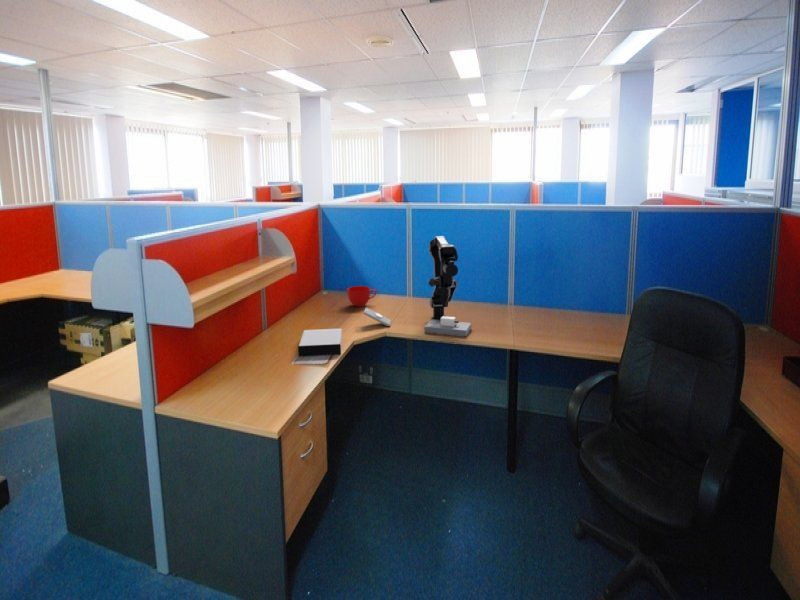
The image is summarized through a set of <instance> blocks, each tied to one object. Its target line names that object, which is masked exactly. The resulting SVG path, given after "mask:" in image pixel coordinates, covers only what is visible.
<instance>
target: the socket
mask: <svg viewBox="0 0 800 600" xmlns="http://www.w3.org/2000/svg"><path fill="white" fill-rule="evenodd" d="M455 325H456V327H455V326H443V325H441V320H439V319H431V320H430V321H428V322H427V324H425V326H424V333H425V332H427V333H426V334H434V333H436V334H437V335H444V334H446V335H445V336H448V335H449V336H454V335H457V337H464V336H466V337H467V336H468V335H469V333H470V332H469V331H471V330H472V322H465V321H464V322H463V321H459V323H456V324H455Z"/></svg>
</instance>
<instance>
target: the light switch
mask: <svg viewBox="0 0 800 600" xmlns="http://www.w3.org/2000/svg"><path fill="white" fill-rule="evenodd" d="M363 315H365V316H367V317H368V318H371V319H373V320H375V321H377V322H378V323H380V324H382V325H384V326H386V327H388V326H390V327H391V322H392V320H391V319H389V318H388V317H385V316H384V315H382V314H380V313H379V312H375V311H373V309H371V308H368V307H365V309H364V311H363Z"/></svg>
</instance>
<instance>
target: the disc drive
mask: <svg viewBox="0 0 800 600" xmlns="http://www.w3.org/2000/svg"><path fill="white" fill-rule="evenodd" d="M342 340H343V329H342V328H327V329H326V328H325V329H321V328H320V329H304V330H303V333H302V336H301V339H300V342H299V344H298V346H297V350H298V351H297V352H298V357H310V356H311V357H316V356H336V355H337V356H338V355H342V351H341V349H342V342H343V341H342Z"/></svg>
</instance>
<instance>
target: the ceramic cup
mask: <svg viewBox="0 0 800 600" xmlns="http://www.w3.org/2000/svg"><path fill="white" fill-rule="evenodd" d="M346 291H347V297H348V300H349V302H350V304H351V305H353V306H354V307H355V306H358V308H359V307H360V306H362V307H365V306H366V304H367V303H368V302H369V300H371V299H372V298H375V297H376V296H377V294H378V293H377V290H376V289H374V288H373V289H372V288H370V287H369V286H364V285H355V286H350V287H348V288H347V290H346ZM372 291H373V292H374V291H375V293H374V294H373V295H372V296H370V295H371V293H372ZM364 305H365V306H364ZM360 308H361V307H360Z"/></svg>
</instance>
